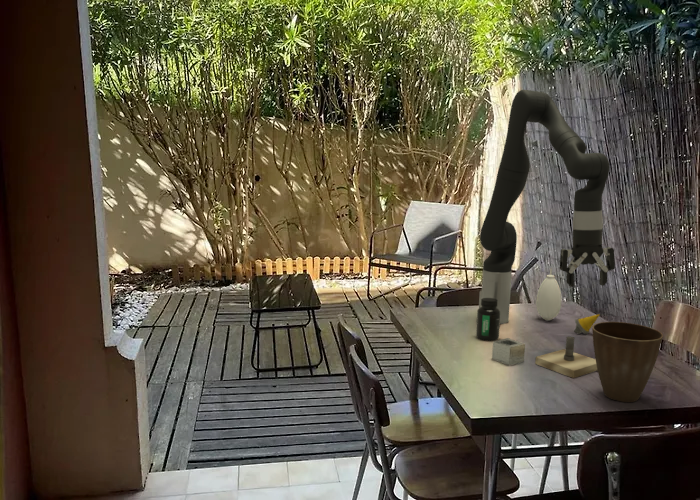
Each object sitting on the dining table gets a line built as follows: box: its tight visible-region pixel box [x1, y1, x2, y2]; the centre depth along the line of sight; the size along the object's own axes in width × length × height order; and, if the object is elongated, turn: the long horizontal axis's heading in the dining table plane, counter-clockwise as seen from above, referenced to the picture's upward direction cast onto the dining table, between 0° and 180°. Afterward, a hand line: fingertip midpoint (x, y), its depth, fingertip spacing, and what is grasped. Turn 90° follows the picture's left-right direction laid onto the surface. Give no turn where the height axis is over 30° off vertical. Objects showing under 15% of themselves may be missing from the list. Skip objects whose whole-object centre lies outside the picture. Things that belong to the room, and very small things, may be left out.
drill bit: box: [573, 313, 601, 335], centre depth 191 cm, size 5×5×10 cm
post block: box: [534, 336, 598, 379], centre depth 162 cm, size 12×12×8 cm
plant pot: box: [591, 321, 664, 403], centre depth 142 cm, size 15×15×16 cm
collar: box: [491, 337, 526, 366], centre depth 166 cm, size 6×6×5 cm
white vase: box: [535, 268, 562, 321], centre depth 204 cm, size 8×8×18 cm
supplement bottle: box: [475, 298, 501, 342], centre depth 185 cm, size 7×7×12 cm
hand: (586, 285), depth 168 cm, fingers open, 8 cm apart
